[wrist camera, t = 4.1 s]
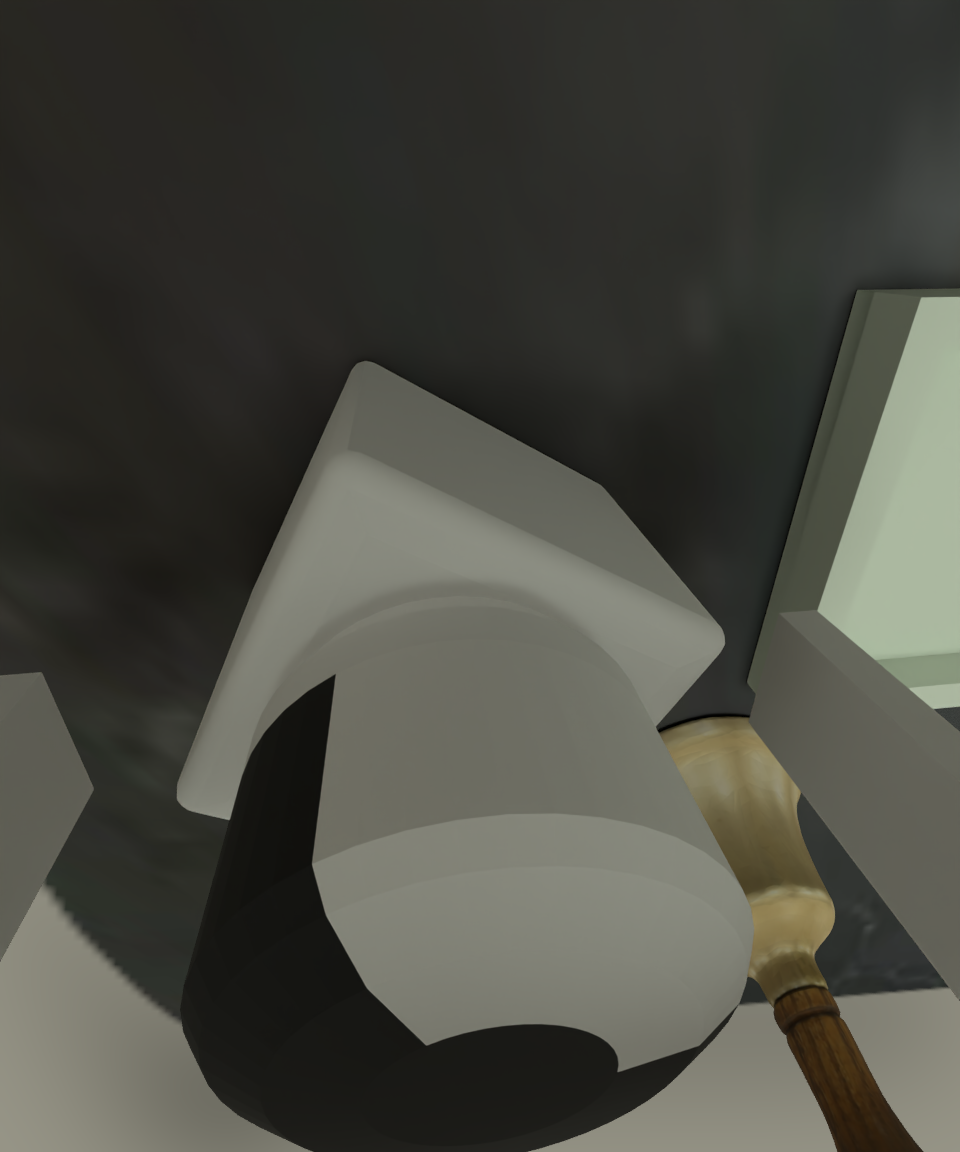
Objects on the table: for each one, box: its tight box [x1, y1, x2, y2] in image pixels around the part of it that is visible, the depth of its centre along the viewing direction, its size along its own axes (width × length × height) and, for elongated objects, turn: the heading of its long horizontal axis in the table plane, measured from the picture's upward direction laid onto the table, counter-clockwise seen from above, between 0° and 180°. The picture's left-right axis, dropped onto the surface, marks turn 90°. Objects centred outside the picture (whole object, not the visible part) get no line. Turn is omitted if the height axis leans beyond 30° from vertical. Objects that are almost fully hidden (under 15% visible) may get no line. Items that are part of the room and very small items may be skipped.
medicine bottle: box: [177, 361, 754, 1152], centre depth 11 cm, size 7×7×12 cm
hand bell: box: [659, 717, 923, 1152], centre depth 16 cm, size 8×8×16 cm
